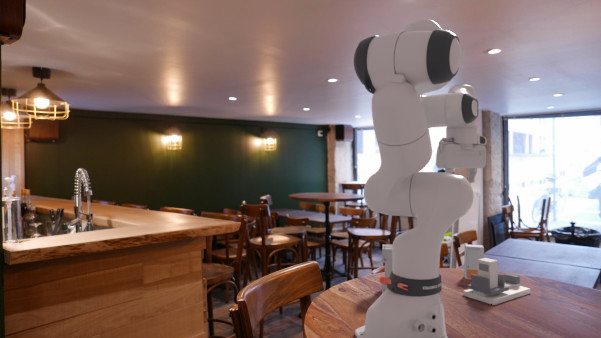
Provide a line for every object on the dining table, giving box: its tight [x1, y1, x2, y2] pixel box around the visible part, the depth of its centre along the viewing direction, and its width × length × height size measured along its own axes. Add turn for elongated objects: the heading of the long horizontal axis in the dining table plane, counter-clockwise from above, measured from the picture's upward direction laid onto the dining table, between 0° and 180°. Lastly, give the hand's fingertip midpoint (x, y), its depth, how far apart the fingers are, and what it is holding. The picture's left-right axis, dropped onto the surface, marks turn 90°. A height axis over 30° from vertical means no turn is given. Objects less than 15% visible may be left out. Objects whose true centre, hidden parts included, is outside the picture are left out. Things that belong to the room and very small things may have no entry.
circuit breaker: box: [381, 243, 393, 295], centre depth 120 cm, size 8×14×15 cm, turn 78°
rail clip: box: [466, 272, 521, 297], centre depth 121 cm, size 20×8×6 cm, turn 122°
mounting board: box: [462, 285, 531, 306], centre depth 121 cm, size 20×10×2 cm, turn 122°
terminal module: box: [478, 257, 499, 289], centre depth 118 cm, size 4×4×8 cm
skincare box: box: [463, 243, 485, 281], centre depth 137 cm, size 6×4×12 cm
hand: (461, 183), depth 119 cm, fingers open, 8 cm apart
